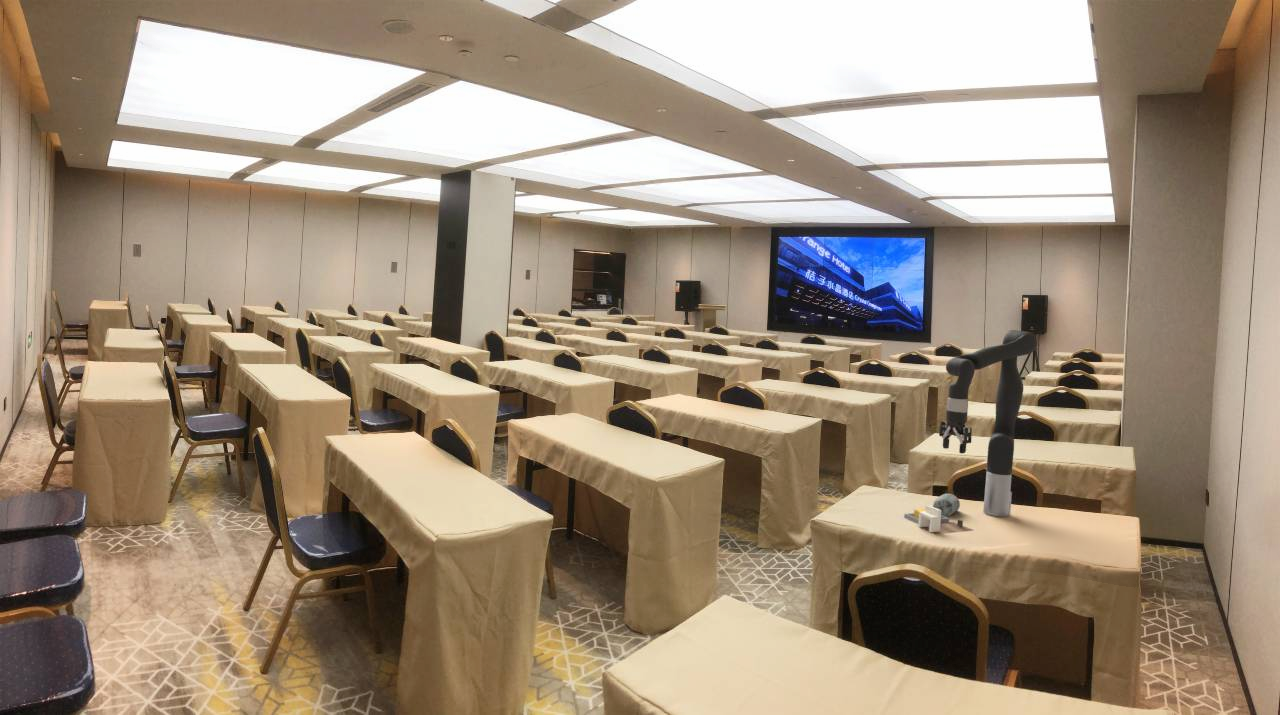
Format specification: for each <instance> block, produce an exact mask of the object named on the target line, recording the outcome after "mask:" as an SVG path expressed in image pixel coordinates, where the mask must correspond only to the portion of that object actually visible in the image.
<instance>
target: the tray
mask: <svg viewBox="0 0 1280 715" xmlns="http://www.w3.org/2000/svg"><path fill="white" fill-rule="evenodd" d="M903 517H904V518H905V519H907V520H909V521H911V522H914V523H916V524H918V522H919V519H917V518H915V517H914V512H910V513H904V515H903ZM947 522H950V518H949V517H946V516H942V515H941V521H940V523H947ZM929 524H930V519H929Z"/></svg>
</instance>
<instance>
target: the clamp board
mask: <svg viewBox="0 0 1280 715" xmlns="http://www.w3.org/2000/svg"><path fill="white" fill-rule="evenodd" d="M963 524H964V520H962V519H957V522H956V521H949V522H944V523H940V531H939V532H931V534H934V535H942V534H950V533H961V532H971V531H973V529H972V528H970V527H968V526H965V525H963ZM929 526H930V524H929ZM929 526H928V527H920V528H921V529H923V530H925V531H928V532H929ZM916 527H918V524H917V525H916Z"/></svg>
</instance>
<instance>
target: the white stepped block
mask: <svg viewBox="0 0 1280 715" xmlns="http://www.w3.org/2000/svg"><path fill="white" fill-rule="evenodd" d="M924 509H925V511H924V512H919V522H918V523H917V525H918V526H917V527H918V528H921V527H928V526H929V519H930V526H929V531H928V532H929V533H932V532H939V531H940V521H941V510H939V509H937V508H934V507H933V505H931V504H926V505H925V508H924Z"/></svg>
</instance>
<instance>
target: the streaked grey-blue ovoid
mask: <svg viewBox="0 0 1280 715" xmlns="http://www.w3.org/2000/svg"><path fill="white" fill-rule="evenodd" d="M960 506H961V502H960V500H959V498H958V497H957V496H956V495H954V494H952V493H944V494H942V495H940V496H938V497H936V499H935V500H934V501H933V504H932V507H934V508H937V509H939V510H941V515H942V516H945V517H947V518H949V517H951V516H952V515H953V514H954V513H956V512H958V510H959V509H960Z"/></svg>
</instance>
